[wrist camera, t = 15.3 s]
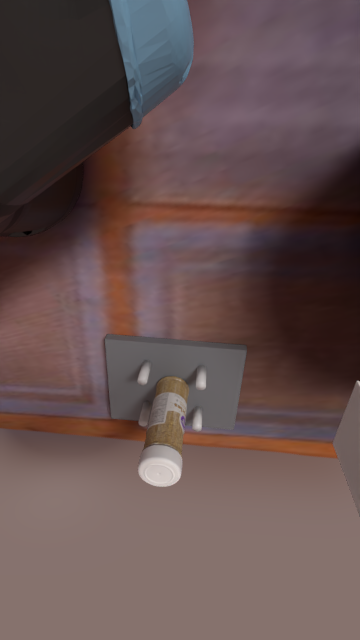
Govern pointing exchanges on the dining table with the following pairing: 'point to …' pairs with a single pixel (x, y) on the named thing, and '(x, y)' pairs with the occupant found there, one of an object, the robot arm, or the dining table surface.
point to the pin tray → (180, 361)
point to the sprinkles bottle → (165, 434)
